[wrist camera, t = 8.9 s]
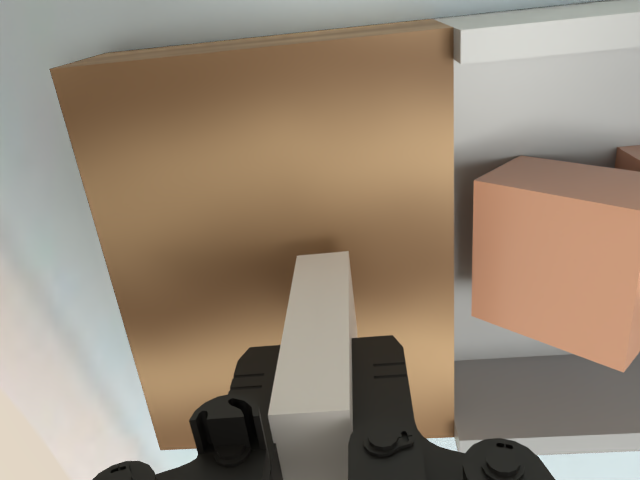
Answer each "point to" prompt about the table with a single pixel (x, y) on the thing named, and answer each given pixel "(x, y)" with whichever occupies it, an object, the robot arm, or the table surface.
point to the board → (271, 198)
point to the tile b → (628, 158)
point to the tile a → (560, 256)
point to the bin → (549, 143)
